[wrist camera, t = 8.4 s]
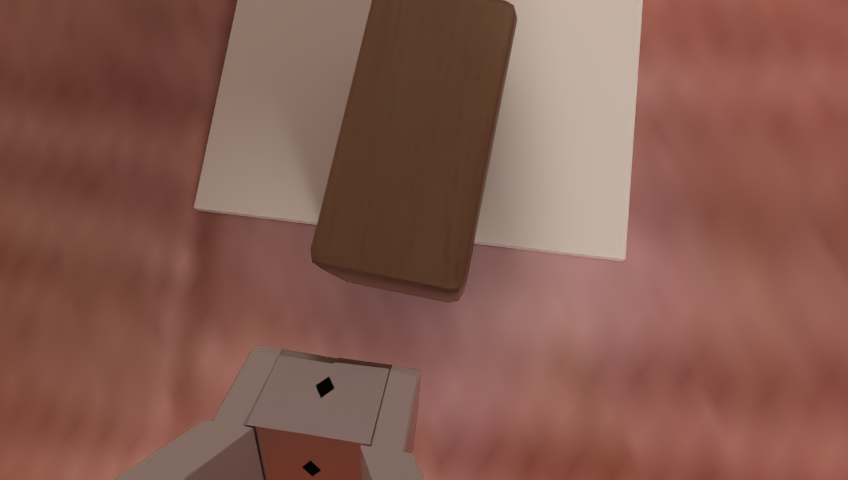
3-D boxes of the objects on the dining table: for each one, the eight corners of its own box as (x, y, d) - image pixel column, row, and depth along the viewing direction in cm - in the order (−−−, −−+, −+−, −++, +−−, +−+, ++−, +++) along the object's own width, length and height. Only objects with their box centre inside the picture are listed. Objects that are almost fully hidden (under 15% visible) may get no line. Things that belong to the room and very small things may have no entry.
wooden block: (460, 305, 17) (506, 71, 18) (464, 296, 13) (522, -4, 14) (337, 280, 17) (390, 52, 18) (302, 263, 13) (373, -27, 14)
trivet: (621, 261, 17) (625, 259, 17) (199, 210, 18) (193, 207, 18) (643, -71, 19) (648, -79, 19) (263, -99, 20) (260, -107, 20)
